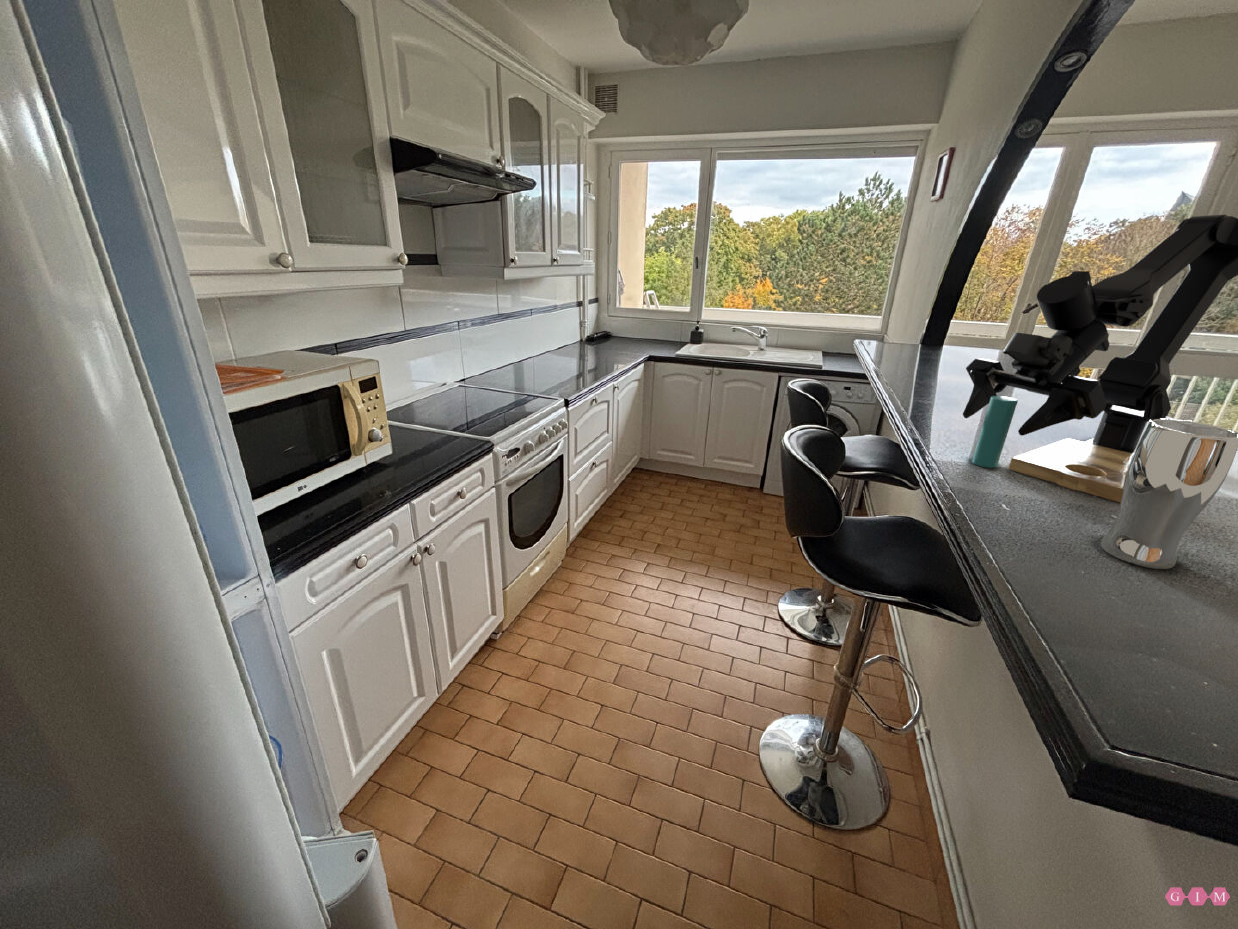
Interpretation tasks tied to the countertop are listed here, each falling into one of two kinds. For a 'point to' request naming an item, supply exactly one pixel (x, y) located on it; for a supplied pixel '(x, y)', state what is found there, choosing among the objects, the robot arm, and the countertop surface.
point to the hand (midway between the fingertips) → (990, 424)
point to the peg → (994, 431)
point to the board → (1077, 467)
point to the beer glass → (1168, 489)
